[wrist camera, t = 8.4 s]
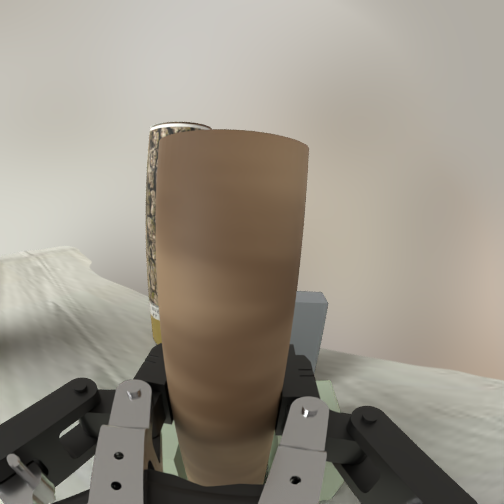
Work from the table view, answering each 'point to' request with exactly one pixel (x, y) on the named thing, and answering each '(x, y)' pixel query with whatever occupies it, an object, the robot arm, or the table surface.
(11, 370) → the table surface
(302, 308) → the wall
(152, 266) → the brown bark cylinder
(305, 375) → the robot arm
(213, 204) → the brown banded cylinder
